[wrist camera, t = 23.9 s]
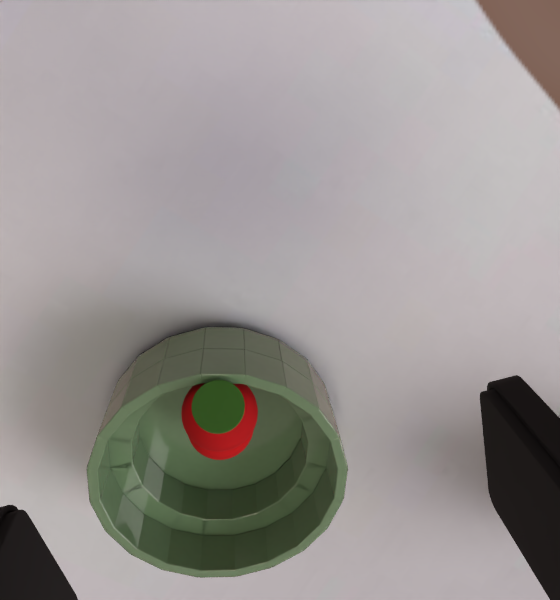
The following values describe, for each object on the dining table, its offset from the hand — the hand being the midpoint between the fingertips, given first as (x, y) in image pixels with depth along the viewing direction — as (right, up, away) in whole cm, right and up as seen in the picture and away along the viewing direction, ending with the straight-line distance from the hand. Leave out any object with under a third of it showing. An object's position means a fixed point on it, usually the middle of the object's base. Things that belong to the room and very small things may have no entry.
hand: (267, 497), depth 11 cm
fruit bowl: (-4, -4, +24) cm, 25 cm away
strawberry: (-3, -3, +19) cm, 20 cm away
